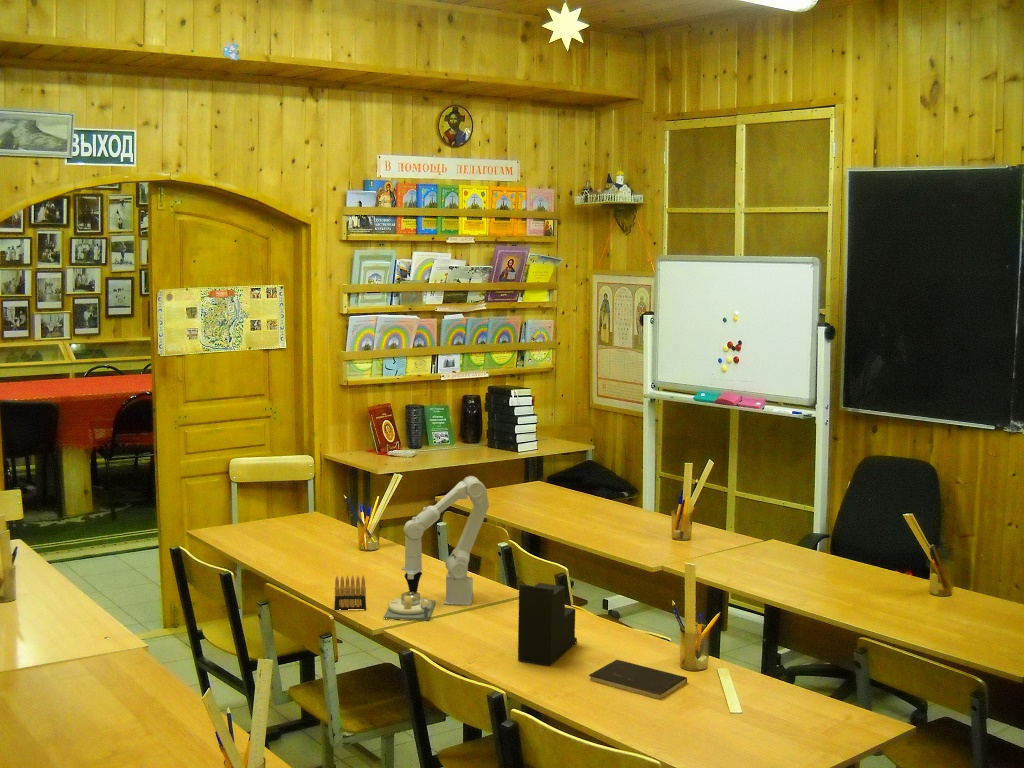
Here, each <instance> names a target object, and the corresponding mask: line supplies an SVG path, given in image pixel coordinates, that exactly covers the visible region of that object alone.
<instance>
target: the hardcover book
mask: <svg viewBox="0 0 1024 768" xmlns="http://www.w3.org/2000/svg"><path fill="white" fill-rule="evenodd" d="M588 676H589V678H590V681H591V680H592V681H591V682H594V681H595V683H598V684H602V685H605V686H610V687H612V688H617V689H621V690H624V691H629V692H632V693H636V694H639V695H643V696H645V697H646V696H647V697H650V698H653V699H657V700H661V699H662V698H665V697H666V696H667V695H669V694H670V693H672V692H674V691H675V690H677V689H678V688H680V687H682V686H683V685H684V684H687V683H688V677H687V676H683V675H679V674H675V673H672V672H667V671H663V670H659V669H655V668H652V667H647V666H643V665H639V664H636V663H633V662H629V661H625V660H620V659H615V660H613V661H611V662H610V663H608V664H605V666H603V667H600V668H599V669H597V670H595V671H593V672H591V673H590V674H589V675H588Z"/></svg>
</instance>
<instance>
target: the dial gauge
mask: <svg viewBox="0 0 1024 768" xmlns="http://www.w3.org/2000/svg"><path fill="white" fill-rule="evenodd" d="M429 600H430V599H428V600H423V601H422V602H421V608H422V610H424V617H428V610H430V609H431V606H432V604H431V602H430V601H429Z"/></svg>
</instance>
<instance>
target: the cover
mask: <svg viewBox="0 0 1024 768" xmlns="http://www.w3.org/2000/svg"><path fill="white" fill-rule="evenodd" d="M404 596H411V597H412V606H416V605H419V604H420V597H421V593H419V592H418V591H417V592H413V591H409V590H408V591H405V592H402V593H401V595H400V598H401V604H402V605H404Z"/></svg>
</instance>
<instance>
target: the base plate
mask: <svg viewBox="0 0 1024 768" xmlns="http://www.w3.org/2000/svg"><path fill="white" fill-rule="evenodd" d="M394 599H395V598H393V599H392V600H394ZM429 600H430V599H429ZM430 601H431V603H432V607H431V609H430V610H429V611H428V617H424V613H419V614H399V613H395V612H392V611H390V610H389V606H388V608H387V609H386V611H385V613H384V615H383V619H384V618H385V619H386V618H387V619H408V620H407V621H412V620H417V621H418V622H419V621H420V622H429V621H430V618H431V615H432V613H433V611H434V609H433V608H435V606H436V604H437V603H436V600H434V599H433V600H432V599H431V600H430Z"/></svg>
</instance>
